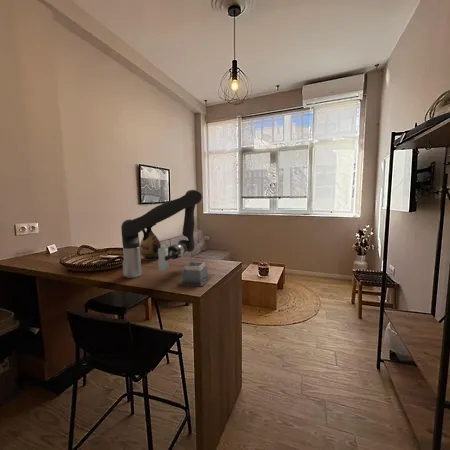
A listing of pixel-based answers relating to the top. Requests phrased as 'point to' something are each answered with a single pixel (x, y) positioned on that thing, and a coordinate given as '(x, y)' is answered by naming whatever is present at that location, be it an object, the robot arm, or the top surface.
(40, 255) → the top surface
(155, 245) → the ceramic jug
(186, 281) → the grey socket base
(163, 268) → the bottle
